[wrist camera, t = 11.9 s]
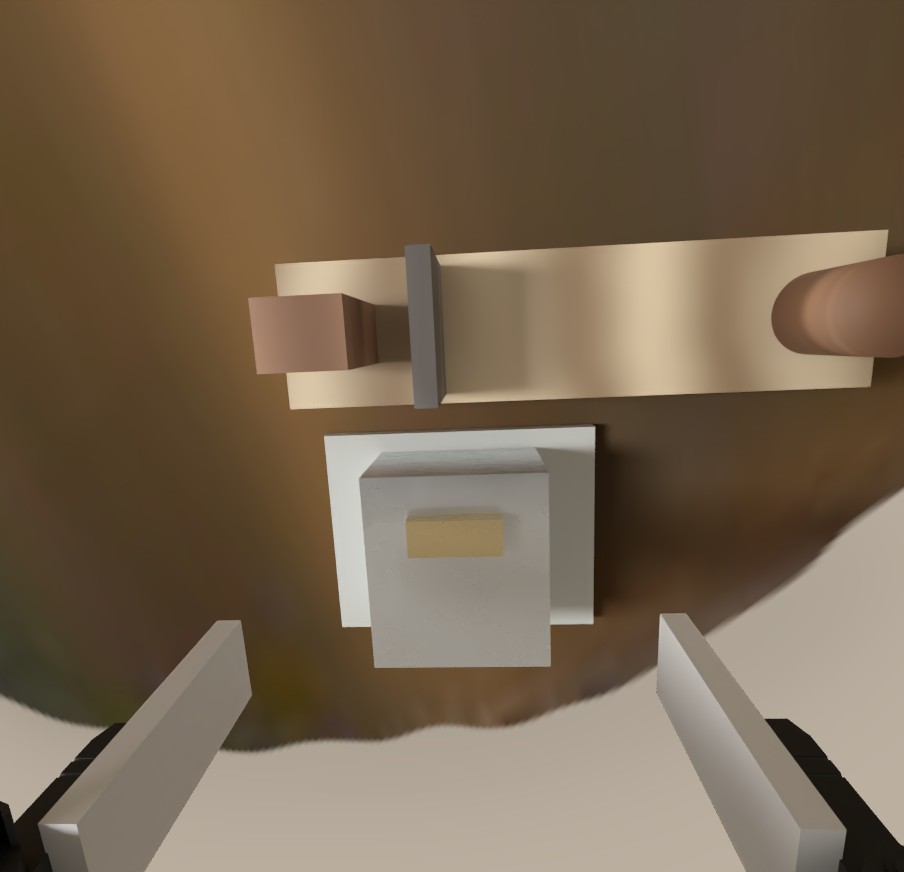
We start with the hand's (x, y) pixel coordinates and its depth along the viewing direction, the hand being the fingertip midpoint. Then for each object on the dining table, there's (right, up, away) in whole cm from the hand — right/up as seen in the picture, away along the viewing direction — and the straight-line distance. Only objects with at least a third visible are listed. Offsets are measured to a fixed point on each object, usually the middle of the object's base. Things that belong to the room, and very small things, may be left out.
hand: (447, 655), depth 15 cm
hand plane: (+5, +12, +10) cm, 16 cm away
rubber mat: (+1, +2, +12) cm, 12 cm away
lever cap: (+1, +2, +11) cm, 11 cm away
